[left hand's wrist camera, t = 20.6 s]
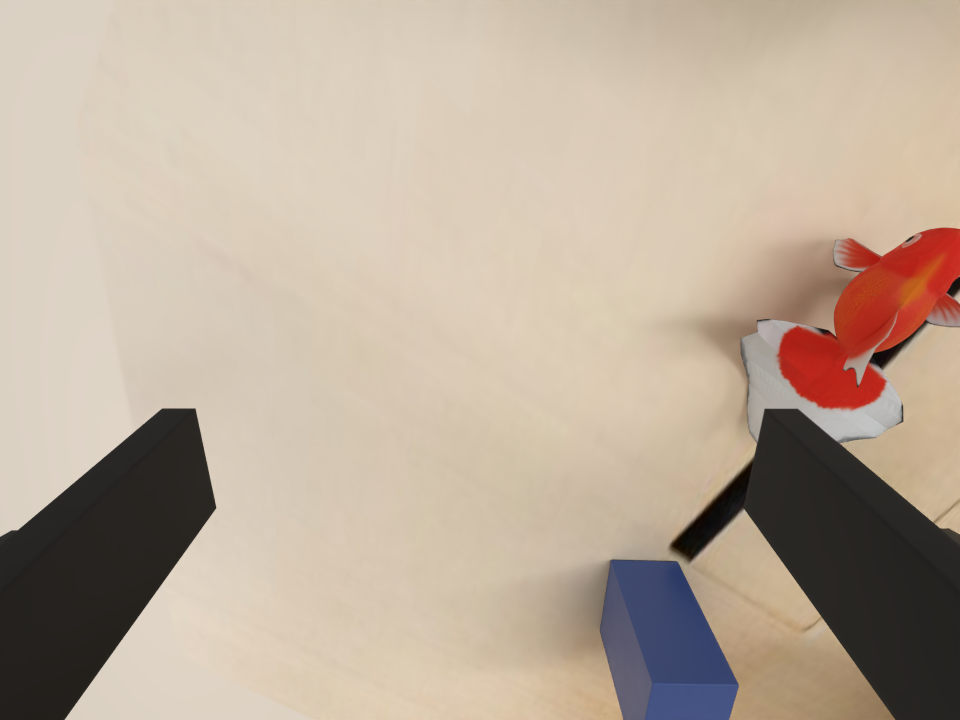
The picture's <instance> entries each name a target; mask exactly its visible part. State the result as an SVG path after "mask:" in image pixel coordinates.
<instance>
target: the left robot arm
mask: <svg viewBox="0 0 960 720" xmlns="http://www.w3.org/2000/svg"><path fill="white" fill-rule="evenodd" d="M215 509H216V504H215V499H214V495H213V490H212V485H211V480H210V476H209V471H208V466H207V461H206V457H205V452H204V447H203V442H202V438H201V433H200V428H199V423H198V419H197V414H196V409H161V410H160V411H159V412H158V413H156V414H155V415H154V416H153V417H152V418H150V419H149V420H148V421H147V422H146V423H145V424H143V425H142V426H141V427H140V428H139V429H137V430H136V431H135V432H134V433H133V434H131V435H130V436H129V437H128V438H127V439H126V440H124V441H123V442H122V443H121V444H120V445H118V446H117V447H116V448H115V449H114V450H113V451H111V452H110V453H109V454H108V455H107V456H105V457H104V458H103V459H102V460H101V461H99V462H98V463H97V464H96V465H95V466H94V467H92V468H91V469H90V470H89V471H88V472H86V473H85V474H84V475H83V476H82V477H81V478H79V479H78V480H77V481H76V482H75V483H73V484H72V485H71V486H70V487H69V488H68V489H66V490H65V491H64V492H63V493H62V494H60V495H59V496H58V497H57V498H56V499H54V500H53V501H52V502H51V503H50V504H49V505H47V506H46V507H45V508H44V509H43V510H41V511H40V512H39V513H38V514H37V515H35V516H34V517H33V518H32V519H31V520H30V521H28V522H27V523H26V524H25V525H24V526H22V527H21V528H20V529H19V530H15V531H14V530H12V531H10V532H8V533H6V534H5V535H3V536H1V537H0V720H65V718H66V717H67V715H68V714H69V713H70V711H71V710H72V708H73V707H74V706H75V704H76V703H77V702H78V700H79V699H80V697H81V696H82V695H83V693H84V692H85V690H86V689H87V688H88V686H89V685H90V683H91V682H92V681H93V679H94V678H95V676H96V675H97V674H98V672H99V671H100V669H101V668H102V667H103V665H104V664H105V662H106V661H107V660H108V658H109V657H110V655H111V654H112V653H113V651H114V650H115V648H116V647H117V646H118V644H119V643H120V642H121V640H122V639H123V637H124V636H125V635H126V633H127V632H128V630H129V629H130V628H131V626H132V625H133V623H134V622H135V621H136V619H137V618H138V616H139V615H140V614H141V612H142V611H143V610H144V608H145V607H146V605H147V604H148V603H149V601H150V600H151V598H152V597H153V596H154V594H155V593H156V591H157V590H158V589H159V587H160V586H161V584H162V583H163V582H164V580H165V579H166V577H167V576H168V575H169V573H170V572H171V570H172V569H173V568H174V566H175V565H176V564H177V562H178V561H179V559H180V558H181V557H182V555H183V554H184V552H185V551H186V550H187V548H188V547H189V545H190V544H191V543H192V541H193V540H194V538H195V537H196V536H197V534H198V533H199V531H200V530H201V529H202V527H203V526H204V524H205V523H206V522H207V520H208V519H209V518H210V516H211V515H212V513H213V512H214V511H215ZM744 509H745V511H746V512H747V513H748V515H749V516H750V518H751V519H752V520H753V522H754V523H755V524H756V526H757V527H758V529H759V530H760V531H761V533H762V534H763V536H764V537H765V538H766V540H767V541H768V543H769V544H770V545H771V547H772V548H773V550H774V551H775V552H776V554H777V555H778V557H779V558H780V559H781V561H782V562H783V564H784V565H785V566H786V568H787V569H788V570H789V572H790V573H791V575H792V576H793V577H794V579H795V580H796V582H797V583H798V584H799V586H800V587H801V589H802V590H803V591H804V593H805V594H806V596H807V597H808V598H809V600H810V601H811V603H812V604H813V605H814V607H815V608H816V610H817V611H818V612H819V614H820V615H821V616H822V618H823V619H824V621H825V622H826V623H827V625H828V626H829V628H830V629H831V630H832V632H833V633H834V635H835V636H836V637H837V639H838V640H839V642H840V643H841V644H842V646H843V647H844V649H845V650H846V651H847V653H848V654H849V656H850V657H851V658H852V660H853V661H854V662H855V664H856V665H857V667H858V668H859V669H860V671H861V672H862V674H863V675H864V676H865V678H866V679H867V681H868V682H869V683H870V685H871V686H872V688H873V689H874V690H875V692H876V693H877V695H878V696H879V697H880V699H881V700H882V702H883V703H884V704H885V706H886V707H887V708H888V710H889V711H890V713H891V714H892V715H893V717H894V718H895V720H960V534H958V533H956V532H954V531H952V530H951V529H940V528H939V527H938V526H936V525H935V524H934V523H933V522H932V521H930V520H929V519H928V518H927V517H926V516H925V515H923V514H922V513H921V512H920V511H919V510H917V509H916V508H915V507H914V506H913V505H911V504H910V503H909V502H908V501H907V500H906V499H904V498H903V497H902V496H901V495H900V494H898V493H897V492H896V491H895V490H894V489H893V488H891V487H890V486H889V485H888V484H887V483H885V482H884V481H883V480H882V479H881V478H879V477H878V476H877V475H876V474H875V473H874V472H872V471H871V470H870V469H869V468H868V467H866V466H865V465H864V464H863V463H862V462H861V461H859V460H858V459H857V458H856V457H855V456H853V455H852V454H851V453H850V452H849V451H847V450H846V449H845V448H844V447H843V446H842V445H840V444H839V443H838V442H837V441H836V440H834V439H833V438H832V437H831V436H830V435H829V434H827V433H826V432H825V431H824V430H823V429H821V428H820V427H819V426H818V425H817V424H815V423H814V422H813V421H812V420H811V419H810V418H808V417H807V416H806V415H805V414H804V413H802V412H801V411H800V410H799V409H764V414H763V419H762V423H761V428H760V433H759V438H758V442H757V447H756V452H755V457H754V461H753V466H752V471H751V476H750V480H749V485H748V490H747V495H746V499H745V504H744Z"/></svg>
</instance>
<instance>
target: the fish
mask: <svg viewBox="0 0 960 720" xmlns="http://www.w3.org/2000/svg"><path fill="white" fill-rule="evenodd" d="M833 259H834V264H835V265H836V266H837V267H840V268H843V269H847V270H850V271H855V272H861V273H860V274H859V275H858V276H856V277H855V278H854V279H853V280H852V281H851V282H850V283H849V284H848V286H847V287H846V288H845V289H844V291H843V293H842V294H841V296H840V298H839V300H838V302H837V305H836V307H835V311H834V326H835V332H836V336H834V335H833V334H832V333H831V332H830V331H829V330H825V329H820V328H816V327H811V326H807V325H802V324H797V323H792V322H787V321H781V320H772V319H764V320H757V330H758V331H757V332H755V333H752V334H750V335H748V336H745V337H743V338H740V340H741V356H742V360H743V363H744V366H745V369H746V373H747V377H748V381H749V386H748V395H747V416H748V427H749V432H750V434H751V436H752V437H753V438H754V440H755V441H756V443H757V442H758V438H759V433H760V428H761V423H762V419H763V414H764V409H799V410H800V411H801V412H802V413H804V414H805V415H806V416H807V417H808V418H810V419H811V420H812V421H813V422H814V423H815V424H817V425H818V426H819V427H820V428H821V429H823V430H824V431H825V432H826V433H827V434H829V435H830V436H831V437H832V438H833V439H834V440H836V441H837V442H838V443H843V442H848V441H852V440H860V439H870V438H876V437H878V436H879V435H880V434H882V433H883V432H885V431H886V430H887V429H889V428H891V427H893V426H895V425H897V424H899V423H902V422H903V405H902V402H901V400H900V398H899V396H898V394H897V392H896V390H895V389H894V387H893V386H892V384H891V383H890V381H889V380H888V378H887V377H886V375H885V374H884V373H883V371H882V370H881V368H880V367H879V366H878V364H877V363H876V362H875V360H874V359H873V357H871V356H872V354H873V353H875V352H879V351H883V350H886V349H889V348H891V347H893V346H895V345H897V344H898V343H900V342H901V341H903V340H905V339H906V338H907V337H909V336H910V335H911V334H912V333H913V332H914V331H916V330H917V329H918V328H919V327H920V325H921V324H922V323H923V322H924V321H925V320H926V322H928V323H930V324H933V325H938V326H946V327H960V304H959V303H958V302H957V301H956V300H955V299H954V298H953V297H951V296H950V295H949V294H947V293H946V292H947V291H948V289H949V288H950V286H951V284H952V282H953V281H954V280H955V279H957V278H958V277H959V276H960V229H955V228H936V229H930V230H926V231H923V232H920V233H917V234H915V235H914V236H912V237H910V238H909V239H908V240H906V241H905V242H904V243H902V244H901V245H899V246H898V247H896V248H895V249H893V250H892V251H890V252H889V253H887V254H885V255H884V256H880V255H878V254H876V253H874V252H873V251H871V250H869V249H868V248H866V247H865V246H863V245H862V244H860V243H858V242H857V241H855V240H853V239H850V238H849V239H845V240H836V241H835V245H834V248H833Z"/></svg>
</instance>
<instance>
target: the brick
mask: <svg viewBox="0 0 960 720" xmlns="http://www.w3.org/2000/svg"><path fill="white" fill-rule="evenodd" d="M600 633H601V637H602V641H603V644H604V648H605V652H606V656H607V659H608V663H609V667H610V671H611V674H612V678H613V682H614V686H615V690H616V693H617V697H618V701H619V705H620V708H621V712H622V716H623V720H729V718H730V715H731V711H732V708H733V704H734V701H735V697H736V694H737V690H738V687H739V685H738V682H737V680H736V678H735V676H734V674H733V672H732V670H731V668H730V666H729V664H728V662H727V660H726V658H725V656H724V654H723V652H722V650H721V648H720V646H719V644H718V642H717V640H716V638H715V636H714V634H713V632H712V630H711V628H710V626H709V624H708V622H707V620H706V618H705V616H704V614H703V612H702V610H701V608H700V606H699V604H698V602H697V600H696V598H695V596H694V594H693V592H692V590H691V588H690V586H689V584H688V582H687V580H686V578H685V576H684V574H683V572H682V570H681V568H680V566H679V564H678V562H674V561H634V560H611V563H610V570H609V576H608V582H607V589H606V595H605V601H604V608H603V614H602V620H601V627H600Z"/></svg>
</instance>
